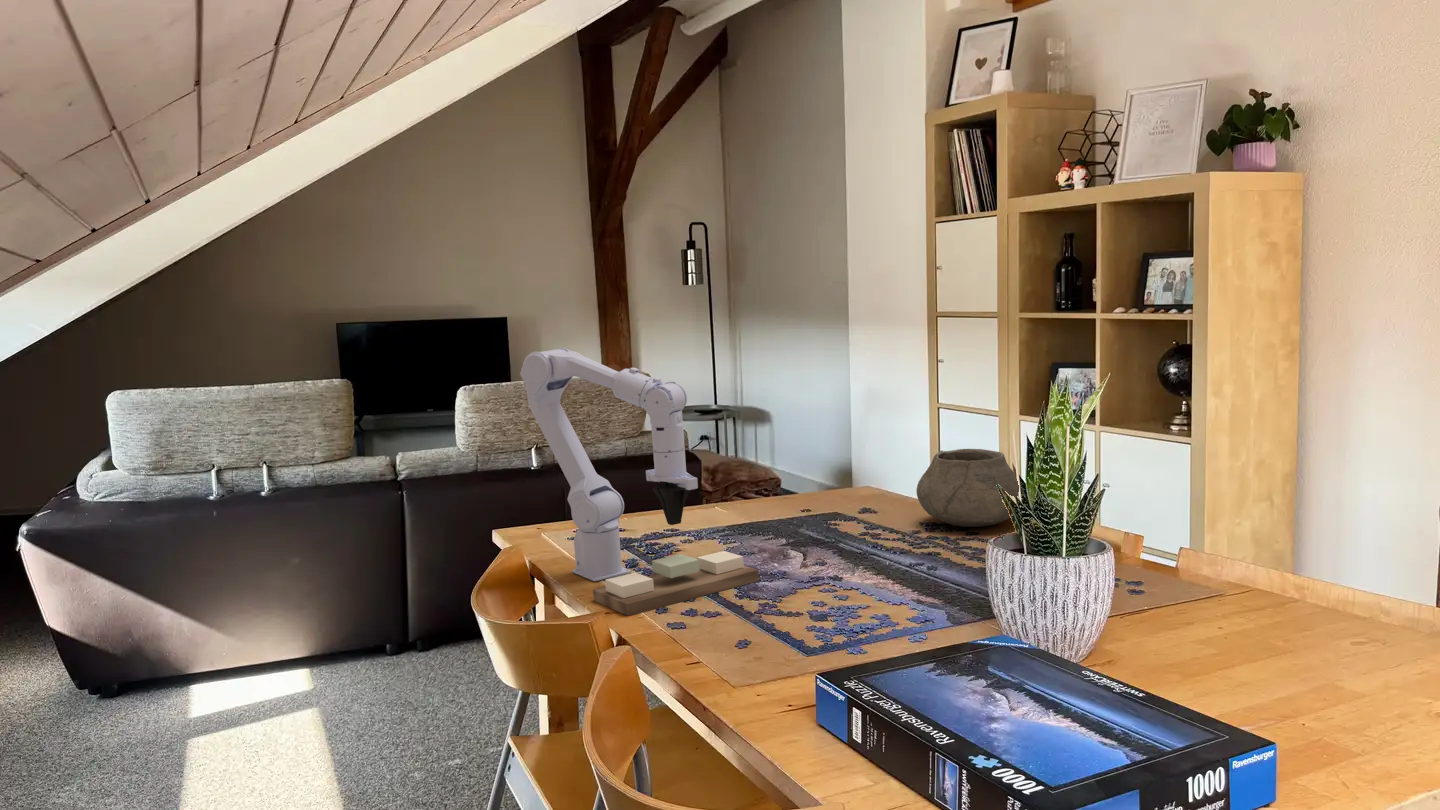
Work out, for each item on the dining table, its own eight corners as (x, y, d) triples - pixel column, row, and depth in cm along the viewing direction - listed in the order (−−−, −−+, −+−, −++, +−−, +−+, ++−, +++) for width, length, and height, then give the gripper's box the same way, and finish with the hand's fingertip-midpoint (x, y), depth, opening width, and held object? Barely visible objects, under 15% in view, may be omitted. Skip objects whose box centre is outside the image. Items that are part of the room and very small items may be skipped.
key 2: (697, 568, 190) (697, 557, 190) (724, 561, 193) (724, 550, 193) (716, 574, 185) (715, 563, 185) (743, 567, 188) (743, 556, 188)
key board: (593, 600, 181) (592, 589, 181) (720, 568, 196) (720, 558, 196) (628, 616, 171) (627, 604, 171) (759, 580, 187) (758, 569, 186)
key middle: (652, 571, 184) (651, 560, 184) (681, 564, 188) (680, 553, 187) (670, 578, 179) (669, 566, 179) (699, 570, 183) (698, 559, 183)
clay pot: (1022, 512, 226) (1020, 443, 224) (1028, 536, 205) (1025, 461, 203) (920, 513, 231) (917, 446, 229) (915, 537, 210) (912, 464, 208)
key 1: (606, 591, 179) (605, 579, 179) (636, 583, 182) (635, 572, 182) (623, 598, 174) (622, 586, 174) (654, 590, 178) (653, 579, 177)
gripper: (629, 449, 192) (635, 521, 194) (671, 457, 180) (677, 534, 182) (662, 444, 196) (667, 514, 198) (705, 451, 184) (710, 526, 186)
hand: (674, 523), depth 190 cm, fingers closed
